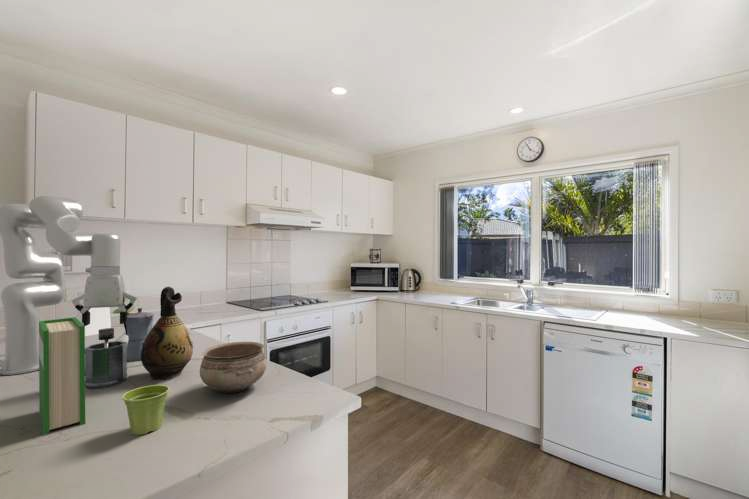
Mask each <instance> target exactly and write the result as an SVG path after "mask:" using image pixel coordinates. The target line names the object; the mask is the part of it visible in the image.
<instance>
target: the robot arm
mask: <svg viewBox="0 0 749 499" xmlns="http://www.w3.org/2000/svg"><path fill="white" fill-rule="evenodd" d="M83 214H84V208H83V205H82V204H81V203H80V202H79V201H78V200H76V199H73V198H66V197H59V196H52V195H51V196H50V195H39V196H37V197H34V198H33V199H31V200H30V202H29V204H27V203H7V204H3V205H1V206H0V237H1V240H2V246H3V247H2V249H3V261H4V269H5V274H6V275H7V276H8V277H9V278H11V279H15V280H17V279H18V280H21V279H25V280H27V279H41V278H42V279H43V281H26V282H25V281H24V282H16V283H12V284H8V285H7V286H5V287H3V289H2V291H1V293H0V298H1V303H2V307H3V312H4V326H5V327H4V328H5V329H4V332H5V334H4V335H5V338H4V340H5V341H4V342H5V346H4V347H5V358H4V359H2V360H0V375H2V376H11V375H12V376H13V375H20V374H26V373H31V372H36V371H39V321H43V319H42V316H41V315H40V314H39V313H38V312H37V311H36V310H35V308H41V307H49V306H57V305H59V304H61V303H62V302H63V301H64V300H65V298H66V291H67V290H66V280H65V279H66V278H65V277H66V276H65V268H64V262H63V260H62V258H61V257H60V256H59V255H58V254H56V253H53V252H52V253H51V252H38V250H37V242H36V239H35V238H34V236H33V235H32V234H31V233H30V232H29V231H28V230H27V229H28V228H29V229H30V228H31V229H45V237H46V241H47V244H49V245H50V247H51V248H53V250H55V251H56V252H58V253H59V254H60V255H63V256H67V257H72V256H73V257H76V256H77V257H78V256H79V257H80V256H86V257H87V256H88V257H89V256H90V267H86V268H85V273H88V274H89V275H88V276H87V277H86V280H85V286H84V291H83V293H84V295H82V294H81V295H82V296H81V295H79V296H78V297H75V298H73V299H71V303H72V305H73V306H74V308H75V309H76V311H77V310H79V311H80V313H82V323H83V325H84V326H87V325H89V324H90V312H89V310H90V309H91V308H98V307H110V308H114V307H115V308H117V309H121V312H120V313H119V324H120V325H124V324H123V323H125V321H127V310H128V309H130V308H132V307H134V306H135V305H134V304H135V303H136V302H137V299H138V297H136V296H134V295H132V294H130V293H128V292H126V290H125V281H124V278H123V275H121V237H120V236H119V235H118V234H115V233H94V232H93V233H92V232H78V231H77V232H75V231H76V230H78V228H79V227H80V223H81V222H80V220H81V219H82V218H83ZM26 228H27V229H26ZM125 292H126V293H125ZM125 298H127V300H129V302H128V303H127V304H126V301H125ZM82 299H84V301H83V303H84V306H85V307H84V306H82V305H81V304H80V300H82ZM124 302H125V303H124Z"/></svg>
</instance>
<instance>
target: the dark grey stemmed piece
mask: <svg viewBox="0 0 749 499" xmlns="http://www.w3.org/2000/svg"><path fill="white" fill-rule="evenodd" d="M114 338H115V328H114V327H111V328H105V329H100V330H99V334H98V341H104V342H105V348H108V342H109V340H113V339H114Z"/></svg>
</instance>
